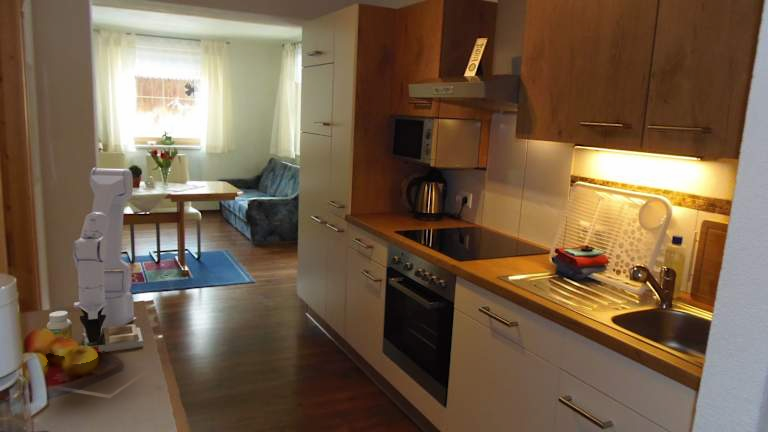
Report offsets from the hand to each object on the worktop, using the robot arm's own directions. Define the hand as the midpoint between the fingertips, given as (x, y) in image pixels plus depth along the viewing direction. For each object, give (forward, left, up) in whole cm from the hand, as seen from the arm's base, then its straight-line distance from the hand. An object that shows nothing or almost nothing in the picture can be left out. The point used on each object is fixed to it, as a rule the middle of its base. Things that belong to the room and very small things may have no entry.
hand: (93, 336), depth 142 cm
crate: (-4, +5, -2) cm, 7 cm away
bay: (-3, +3, -3) cm, 5 cm away
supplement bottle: (+3, -7, -3) cm, 8 cm away
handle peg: (0, 0, -2) cm, 2 cm away
